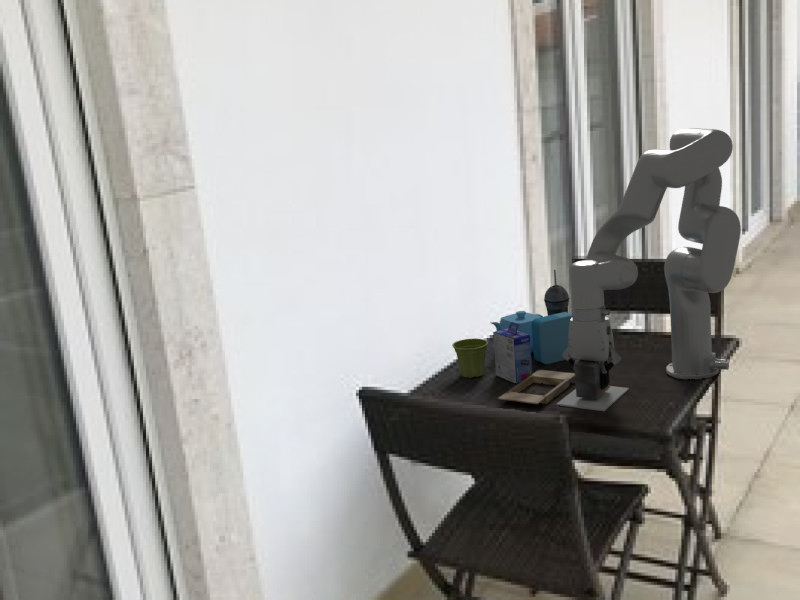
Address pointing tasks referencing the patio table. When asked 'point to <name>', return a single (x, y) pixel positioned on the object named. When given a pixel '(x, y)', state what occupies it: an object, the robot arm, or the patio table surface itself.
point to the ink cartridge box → (512, 354)
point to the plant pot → (471, 356)
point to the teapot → (521, 319)
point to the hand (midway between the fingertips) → (593, 385)
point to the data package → (550, 337)
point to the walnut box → (588, 379)
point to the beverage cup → (556, 299)
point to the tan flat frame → (539, 377)
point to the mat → (594, 404)
